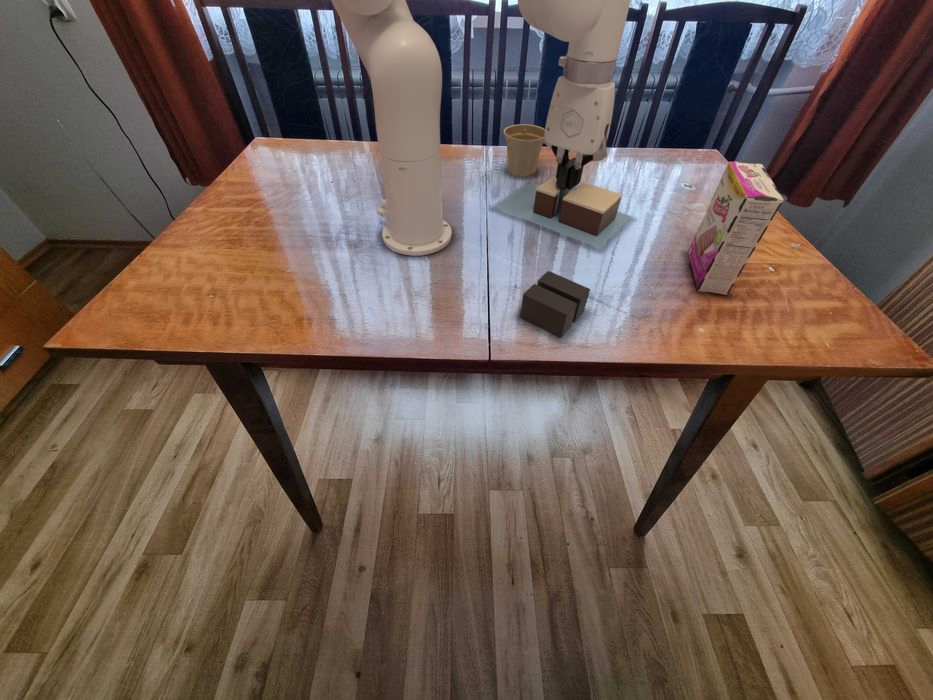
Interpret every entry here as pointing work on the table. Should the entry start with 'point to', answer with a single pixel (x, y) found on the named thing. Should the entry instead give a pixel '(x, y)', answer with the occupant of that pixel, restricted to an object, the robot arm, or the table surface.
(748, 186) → the candy bar box
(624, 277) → the table surface
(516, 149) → the flower pot
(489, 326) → the table surface
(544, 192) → the two-tone brown block
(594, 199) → the cake
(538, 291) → the knife block
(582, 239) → the platter
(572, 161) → the knife
